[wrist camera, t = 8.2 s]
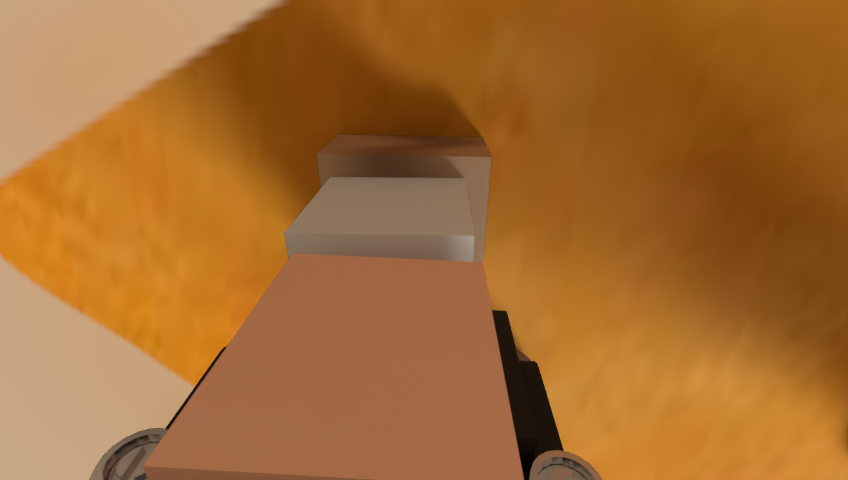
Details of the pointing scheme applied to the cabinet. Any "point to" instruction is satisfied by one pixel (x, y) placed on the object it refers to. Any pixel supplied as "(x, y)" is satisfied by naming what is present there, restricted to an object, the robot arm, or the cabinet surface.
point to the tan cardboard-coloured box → (415, 166)
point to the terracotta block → (353, 381)
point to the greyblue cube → (386, 219)
